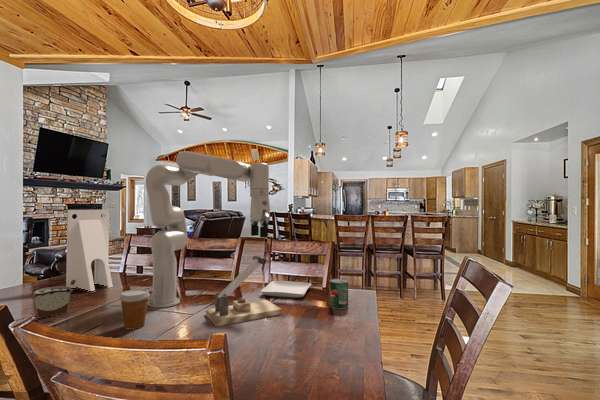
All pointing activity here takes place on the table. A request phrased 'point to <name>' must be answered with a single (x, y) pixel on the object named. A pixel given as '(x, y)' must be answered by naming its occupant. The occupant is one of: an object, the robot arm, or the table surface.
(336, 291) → the canned tomato
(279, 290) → the salad plate
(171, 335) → the table surface
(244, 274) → the press lever
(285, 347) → the table surface
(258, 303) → the press base
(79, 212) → the white arched stand
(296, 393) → the table surface
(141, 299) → the disposable coffee cup
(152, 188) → the robot arm
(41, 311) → the food container
